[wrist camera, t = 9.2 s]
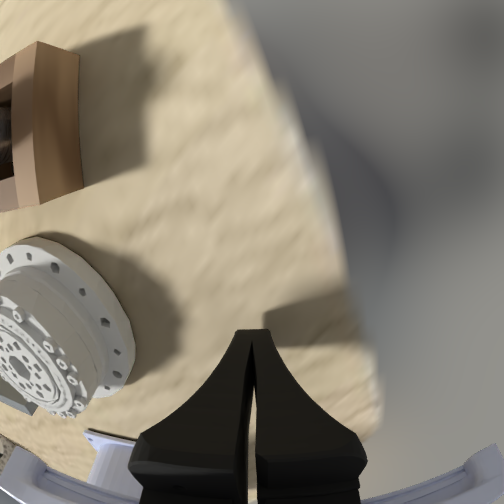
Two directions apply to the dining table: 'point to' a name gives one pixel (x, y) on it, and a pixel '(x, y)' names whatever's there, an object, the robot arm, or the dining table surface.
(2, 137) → the pin
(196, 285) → the dining table surface
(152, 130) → the dining table surface
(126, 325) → the mechanical component
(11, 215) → the dining table surface
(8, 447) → the mug
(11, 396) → the grey u-shaped bracket
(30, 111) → the hollow wooden square
